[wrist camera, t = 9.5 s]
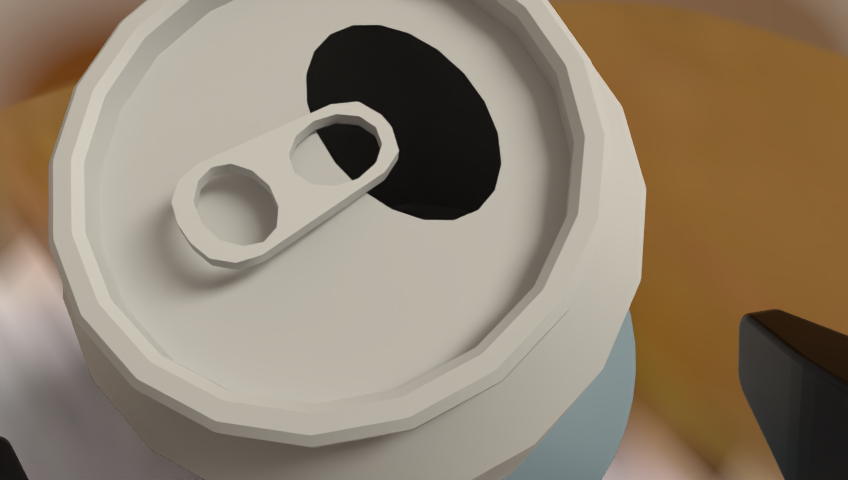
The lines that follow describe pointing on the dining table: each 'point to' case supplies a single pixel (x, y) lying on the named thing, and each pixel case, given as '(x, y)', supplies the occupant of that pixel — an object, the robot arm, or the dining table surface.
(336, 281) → the can
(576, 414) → the pad
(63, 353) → the dining table surface
